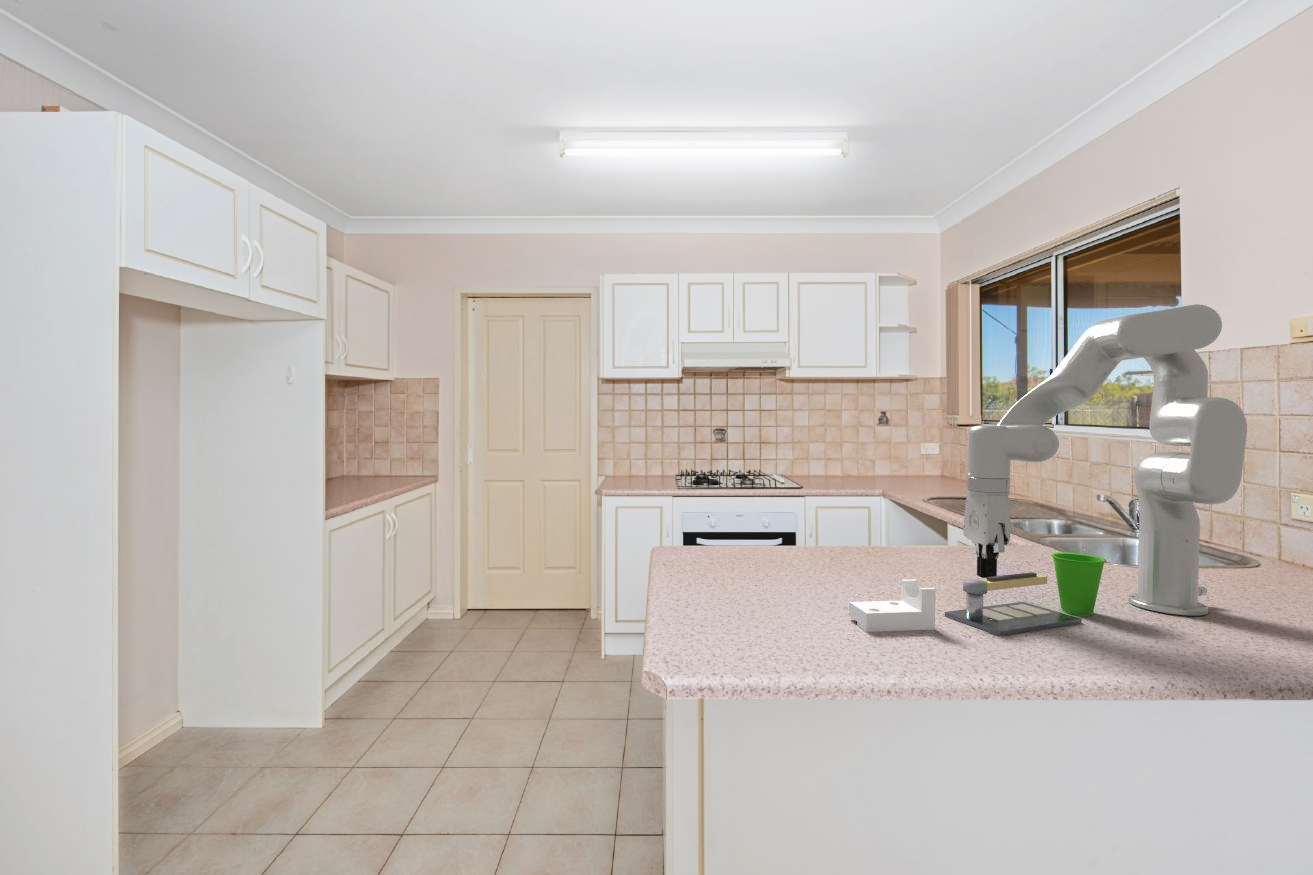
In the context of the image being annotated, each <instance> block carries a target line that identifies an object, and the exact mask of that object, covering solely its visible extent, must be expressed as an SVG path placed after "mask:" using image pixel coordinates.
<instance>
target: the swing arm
mask: <svg viewBox="0 0 1313 875" xmlns="http://www.w3.org/2000/svg"><path fill="white" fill-rule="evenodd" d="M1047 584H1048V576H1047V575H1043V574H1039V573H1037V572H1031V571H1030V572H1024V573H1023V572H1022V573H1021V572H1020V573H1013V574H1005V575H1004V574H1003V575H997V576H994V577H987V578H983V579H977V578H965V579H962V590H963V592H965V593H967V592H968V593H973V594H983V595H986V594H988V592H990V591H996V590H997V591H998V590H1005V589H1006V590H1007V589H1014V588H1022V587H1024V588H1025V587H1030V586H1031V587H1032V586H1039V585H1047Z"/></svg>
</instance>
